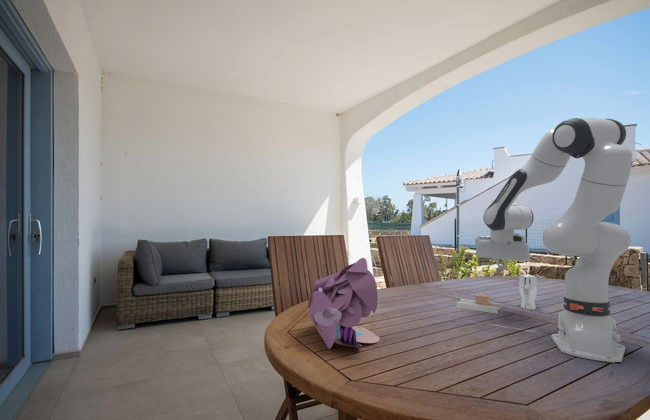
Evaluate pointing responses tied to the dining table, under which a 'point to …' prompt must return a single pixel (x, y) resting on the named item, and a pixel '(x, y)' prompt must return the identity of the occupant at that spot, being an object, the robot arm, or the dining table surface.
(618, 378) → the dining table surface
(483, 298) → the block
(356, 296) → the flower arrangement
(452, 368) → the dining table surface
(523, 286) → the beer glass
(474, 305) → the chute
